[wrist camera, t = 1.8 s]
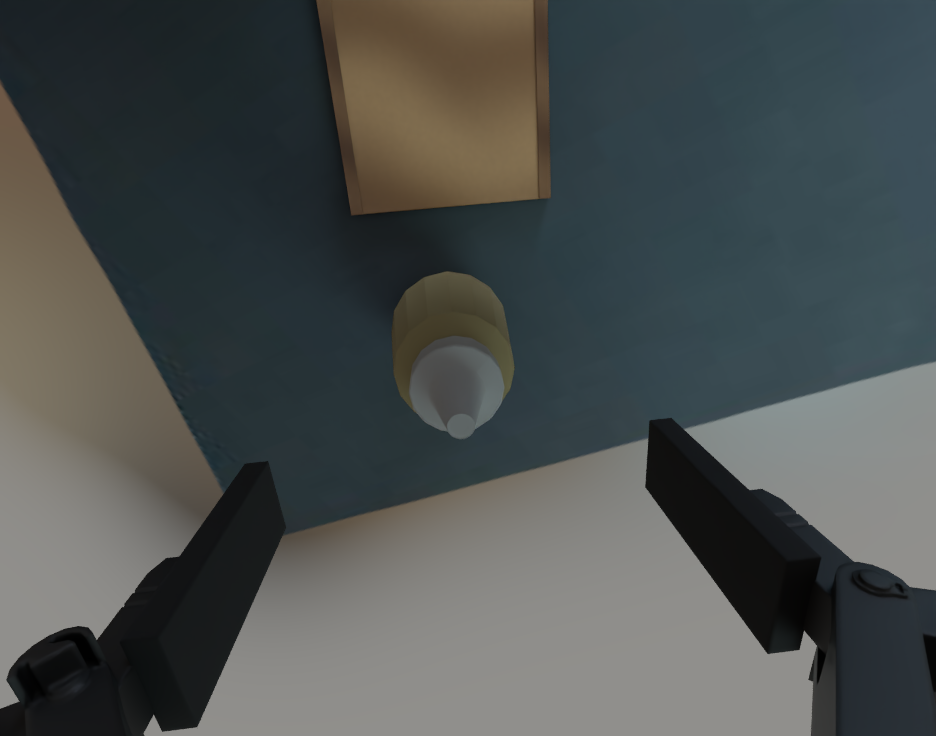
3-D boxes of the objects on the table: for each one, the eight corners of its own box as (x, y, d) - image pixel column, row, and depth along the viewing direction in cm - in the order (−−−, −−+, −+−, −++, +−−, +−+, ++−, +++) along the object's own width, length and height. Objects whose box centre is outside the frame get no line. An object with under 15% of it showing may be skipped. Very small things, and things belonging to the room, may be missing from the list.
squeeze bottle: (424, 381, 37) (416, 534, 21) (376, 291, 35) (322, 384, 18) (515, 340, 37) (585, 463, 20) (474, 245, 34) (514, 295, 17)
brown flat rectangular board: (291, -166, 25) (288, -174, 25) (542, -181, 26) (544, -189, 25) (352, 215, 33) (351, 215, 32) (548, 197, 33) (550, 197, 32)
